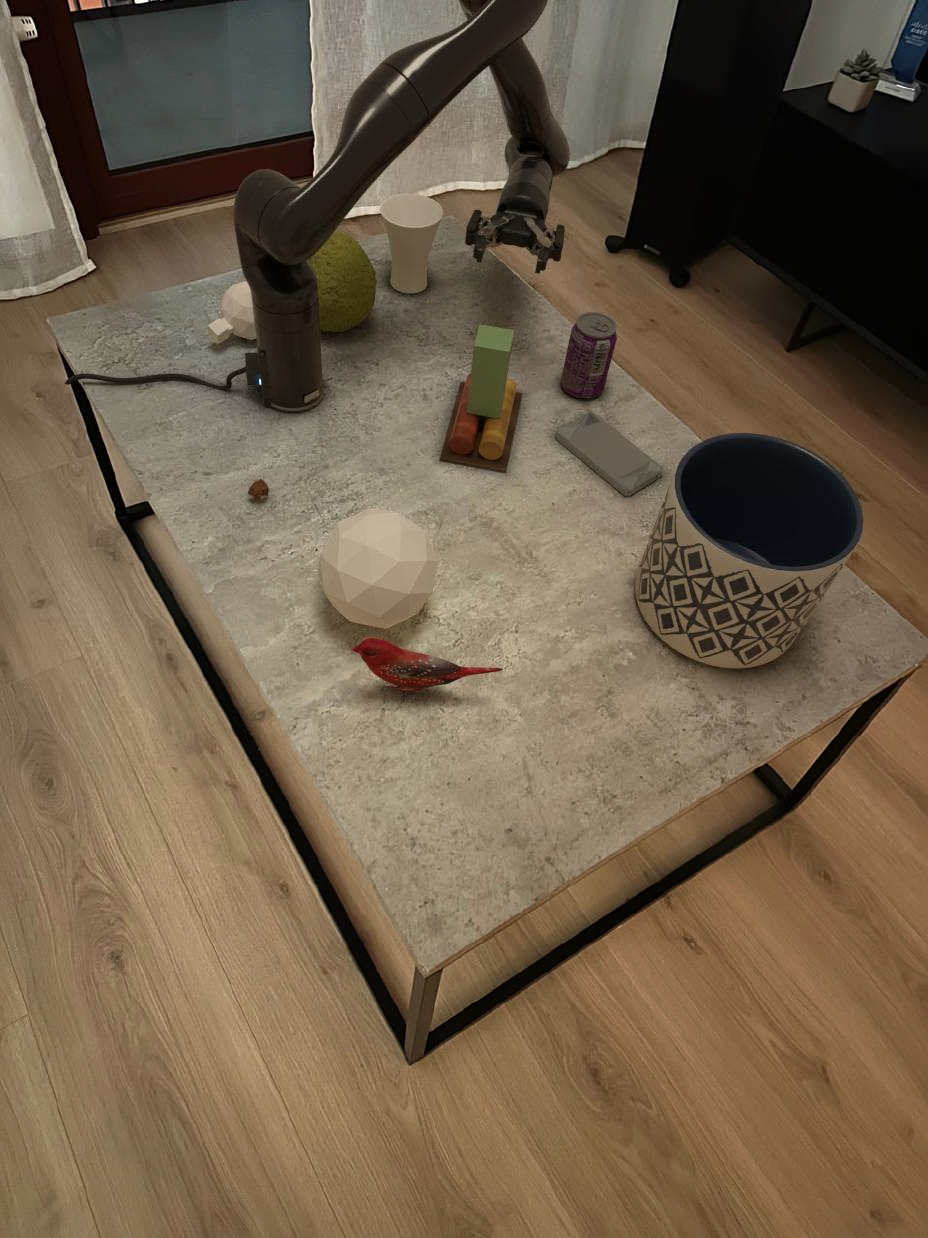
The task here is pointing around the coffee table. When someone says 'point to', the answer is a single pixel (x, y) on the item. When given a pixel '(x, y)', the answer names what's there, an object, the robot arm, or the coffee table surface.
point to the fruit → (343, 283)
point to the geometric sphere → (377, 568)
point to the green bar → (489, 371)
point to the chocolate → (258, 489)
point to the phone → (609, 453)
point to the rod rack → (481, 432)
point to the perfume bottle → (235, 315)
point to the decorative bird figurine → (411, 666)
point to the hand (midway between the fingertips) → (509, 262)
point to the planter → (745, 548)
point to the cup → (410, 238)
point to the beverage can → (589, 355)
